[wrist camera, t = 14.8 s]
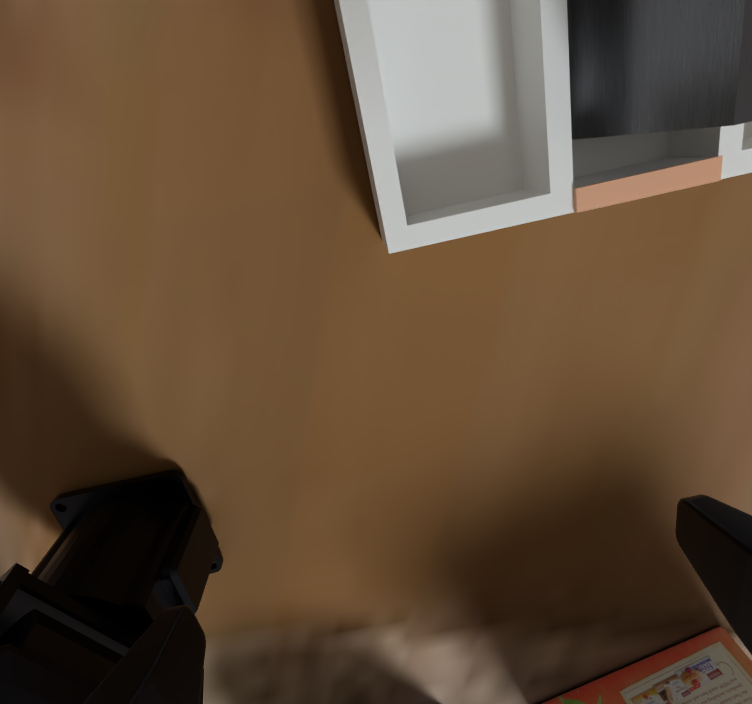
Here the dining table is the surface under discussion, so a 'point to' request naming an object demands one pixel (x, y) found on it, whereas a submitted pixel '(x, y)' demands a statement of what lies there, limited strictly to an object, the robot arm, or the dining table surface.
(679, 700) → the cracker box
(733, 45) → the panel
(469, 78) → the slot rack
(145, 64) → the dining table surface
